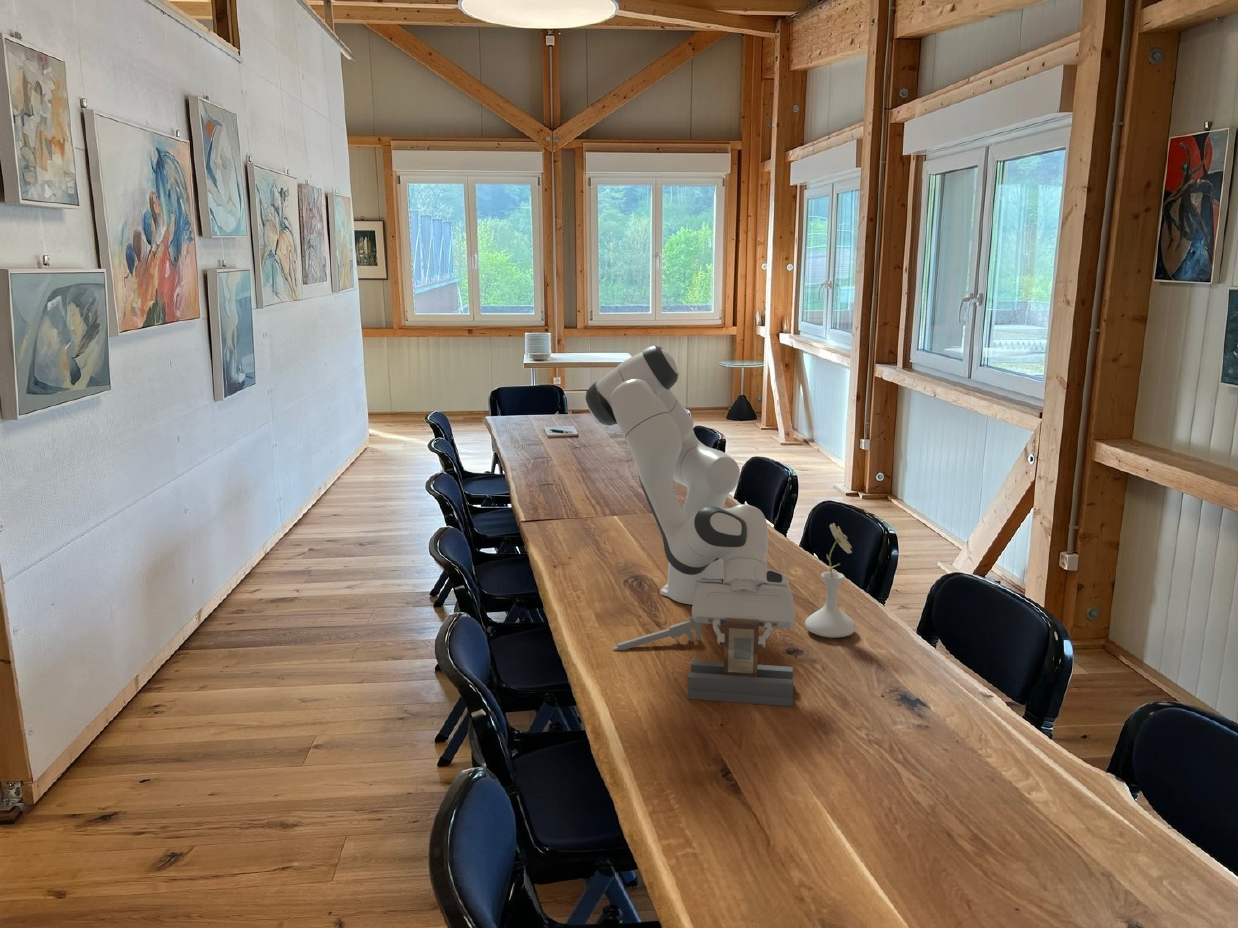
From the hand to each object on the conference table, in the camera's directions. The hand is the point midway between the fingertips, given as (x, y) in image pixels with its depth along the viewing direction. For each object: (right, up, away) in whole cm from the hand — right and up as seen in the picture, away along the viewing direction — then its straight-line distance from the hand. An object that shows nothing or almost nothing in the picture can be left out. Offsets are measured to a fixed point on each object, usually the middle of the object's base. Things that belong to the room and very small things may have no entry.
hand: (741, 645), depth 175 cm
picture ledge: (0, -10, +3) cm, 10 cm away
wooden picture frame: (0, -6, +2) cm, 6 cm away
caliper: (-15, -5, +25) cm, 30 cm away
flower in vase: (+25, -3, +32) cm, 41 cm away
